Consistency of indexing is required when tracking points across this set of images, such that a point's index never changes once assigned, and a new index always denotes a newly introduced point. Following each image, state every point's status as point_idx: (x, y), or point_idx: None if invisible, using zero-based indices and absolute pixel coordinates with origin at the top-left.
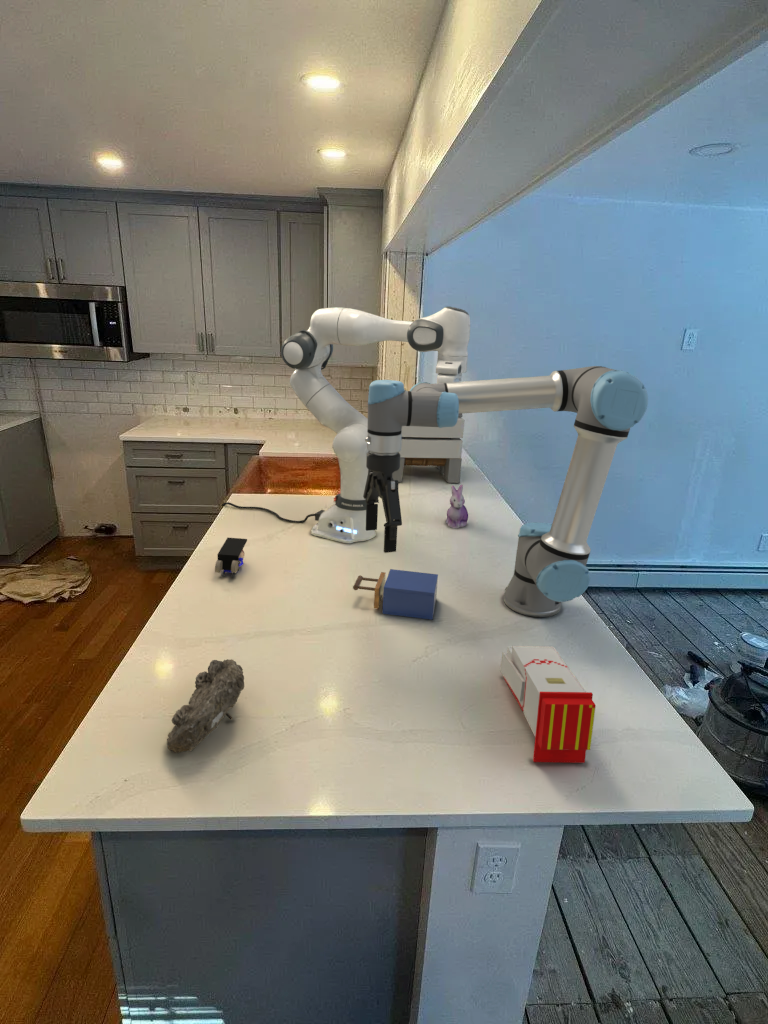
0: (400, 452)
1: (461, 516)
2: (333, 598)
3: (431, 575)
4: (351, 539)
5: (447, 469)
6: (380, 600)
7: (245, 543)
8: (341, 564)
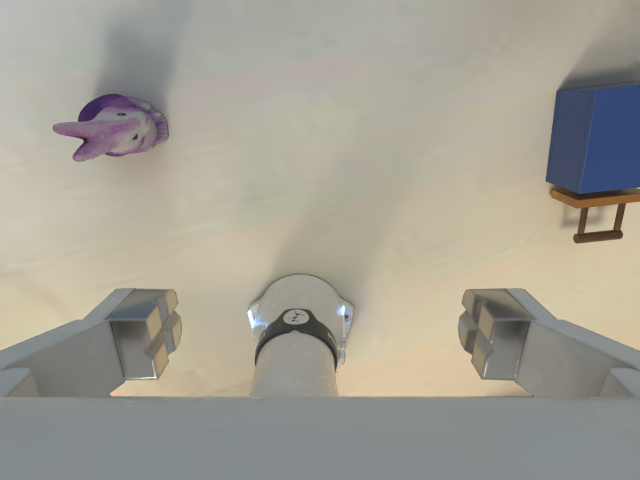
0: None
1: (142, 109)
2: (571, 260)
3: (604, 103)
4: (346, 306)
5: None
6: None
7: None
8: (443, 288)
